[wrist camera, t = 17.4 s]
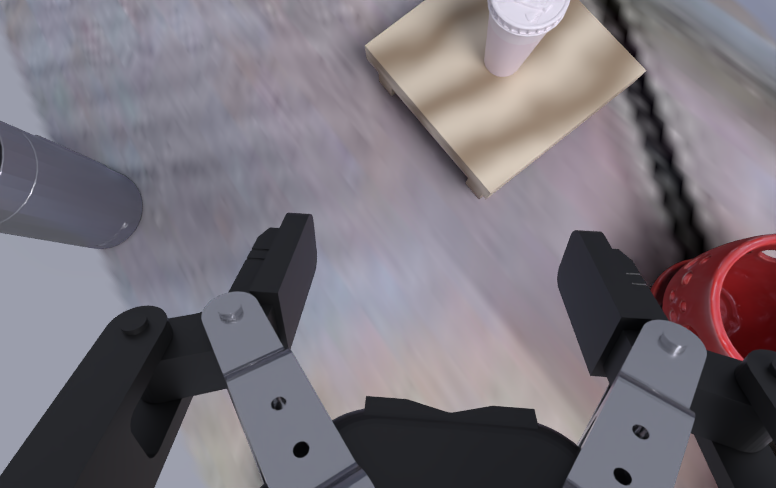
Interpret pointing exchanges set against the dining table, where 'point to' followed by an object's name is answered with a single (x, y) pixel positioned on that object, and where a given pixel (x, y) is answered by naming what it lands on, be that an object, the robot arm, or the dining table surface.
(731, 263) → the plant pot
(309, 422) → the robot arm
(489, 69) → the smoothie
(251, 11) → the dining table surface
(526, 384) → the dining table surface
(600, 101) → the low wooden platform
